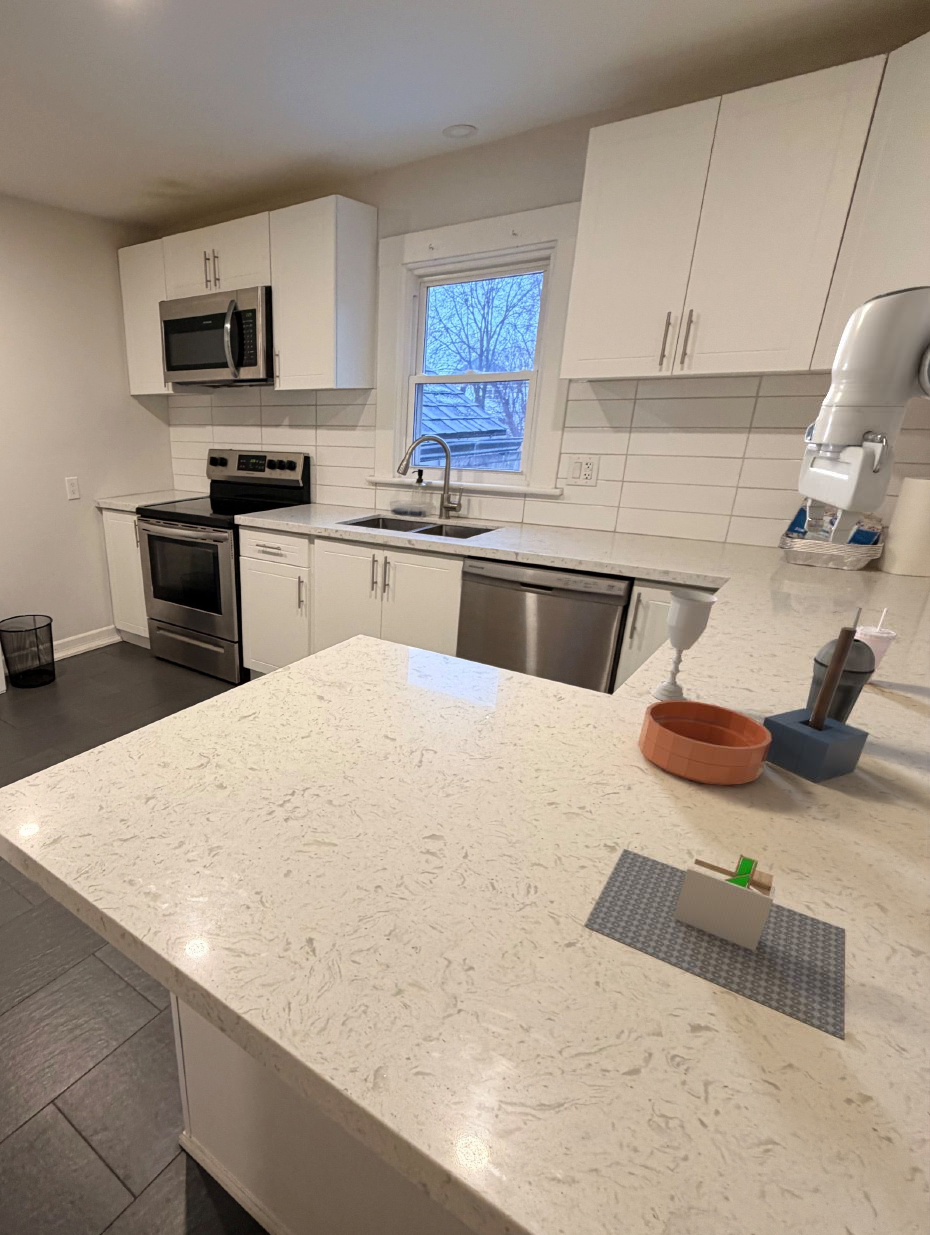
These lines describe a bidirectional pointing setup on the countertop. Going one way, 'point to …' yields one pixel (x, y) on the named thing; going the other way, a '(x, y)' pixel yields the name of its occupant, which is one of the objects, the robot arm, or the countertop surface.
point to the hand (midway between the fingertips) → (823, 536)
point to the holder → (813, 745)
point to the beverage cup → (843, 676)
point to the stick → (832, 677)
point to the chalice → (683, 633)
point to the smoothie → (876, 639)
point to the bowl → (704, 742)
